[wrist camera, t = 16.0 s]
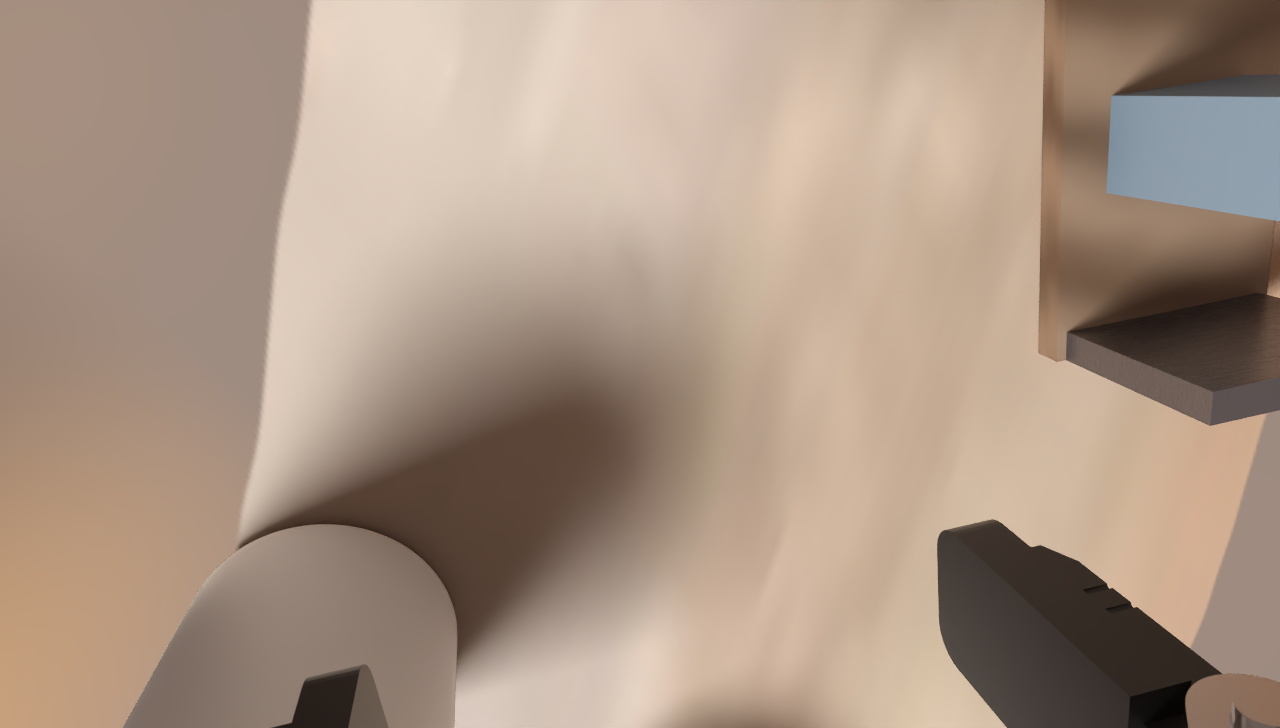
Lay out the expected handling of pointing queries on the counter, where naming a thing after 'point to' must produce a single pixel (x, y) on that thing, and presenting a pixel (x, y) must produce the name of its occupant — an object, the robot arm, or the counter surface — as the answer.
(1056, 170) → the book stand
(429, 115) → the counter surface
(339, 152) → the counter surface
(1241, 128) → the book
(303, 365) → the counter surface
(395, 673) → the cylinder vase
